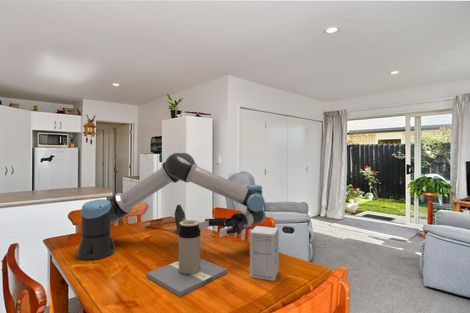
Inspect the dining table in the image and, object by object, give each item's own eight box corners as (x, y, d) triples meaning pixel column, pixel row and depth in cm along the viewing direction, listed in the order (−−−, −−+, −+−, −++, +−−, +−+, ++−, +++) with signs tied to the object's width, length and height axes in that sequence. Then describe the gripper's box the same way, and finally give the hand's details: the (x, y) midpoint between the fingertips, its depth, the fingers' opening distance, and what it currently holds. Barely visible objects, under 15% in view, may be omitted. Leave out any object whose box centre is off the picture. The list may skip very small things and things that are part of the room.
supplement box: (279, 270, 102) (279, 227, 102) (275, 281, 93) (275, 234, 93) (255, 267, 105) (255, 225, 105) (249, 277, 96) (249, 231, 96)
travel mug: (181, 276, 93) (181, 226, 93) (176, 267, 101) (176, 220, 100) (202, 272, 96) (203, 223, 96) (197, 264, 104) (197, 218, 104)
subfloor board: (146, 277, 96) (146, 272, 96) (192, 259, 113) (192, 255, 113) (179, 296, 83) (179, 291, 83) (227, 273, 99) (227, 269, 99)
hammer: (147, 209, 165) (185, 203, 152) (151, 234, 164) (189, 230, 151) (140, 211, 160) (178, 205, 147) (144, 237, 159) (183, 233, 145)
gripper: (263, 234, 114) (230, 246, 98) (222, 223, 130) (188, 232, 114) (263, 216, 114) (231, 226, 98) (222, 208, 130) (188, 215, 114)
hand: (207, 229), depth 106 cm, fingers open, 13 cm apart
